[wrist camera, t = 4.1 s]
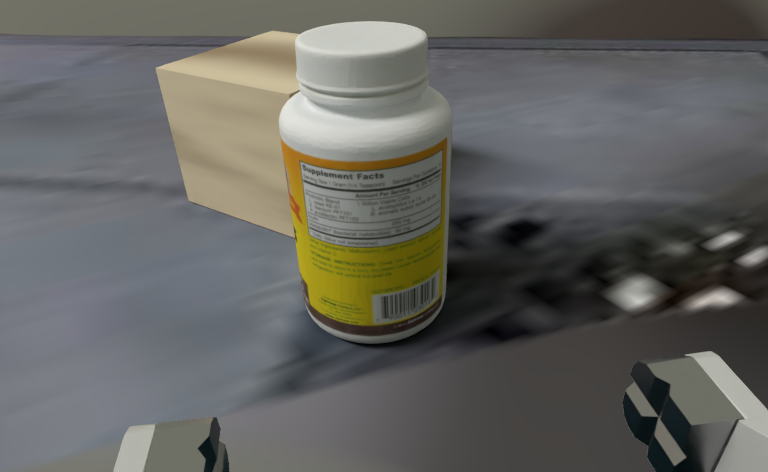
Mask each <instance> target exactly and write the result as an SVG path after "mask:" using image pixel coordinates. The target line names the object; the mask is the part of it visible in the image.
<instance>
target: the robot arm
mask: <svg viewBox="0 0 768 472" xmlns="http://www.w3.org/2000/svg"><path fill="white" fill-rule="evenodd" d="M630 375H631V377H632V378H633V380H634V381H635V382H634V383H633V384H632V385H631V386H630V387H628V389H626V390H625V394H624V398H623V402H622V403H623V410H624V417H625V419H626V422H627V424H628V427H629V428H630V430H631V432H632V434H633V435H634V437H635V438H636V439H638V440H639V441H641V442H643V443H644V444H646V445H647V446H648V452H647V458H648V460H649V461H650V463H651V465H652V466H653V468H654V469H655V471H656V472H768V410H767V409H766V408H765V407H764V406H763V404H762V403H761V402H760V401H759V400H758V399H757V398H756V397H755V395H754V394H752V392H751V391H750V390H749V389H748V388H747V387H746V386H745V384H744V383H742V381H741V380H740V379H739V378H738V377H737V376H736V375H735V373H734V372H733V371H732V370H731V369H730V368H729V367H728V366H727V364H725V362H724V361H723V360H722V359H721V358H720V357H719V356H718V355H717V354H715V353H713V352H711V351H709V352H701V353H694V354H687V355H676V356H669V357H662V358H656V359H649V360H642V361H637V362H636V363H635V364H634V365H633V367H632V370H631V373H630ZM220 430H221V429H220V426H219V423H218V420H217V417H211V418H201V419H192V420H182V421H173V422H163V423H156V424H147V425H139V426H130V428H129V429H128V431H127V432H126V433H125V435H124V438H123V441H122V445H121V448H120V451H119V454H118V458H117V461H116V464H115V468H114V471H113V472H229V460H228V453H227V450H226V446H225V444H223V443H221V442H220V441H219V437H220Z"/></svg>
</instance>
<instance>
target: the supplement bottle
mask: <svg viewBox="0 0 768 472" xmlns="http://www.w3.org/2000/svg"><path fill="white" fill-rule="evenodd" d="M295 51H296V64H297V72H296V78H297V80H298V81H299V90H300V92H298V93H297V94H295V95H294V96H292V97H291V98H290V99H289V100H288V101H287V102H286V104H285V105H284V106H283V108H282V110H281V113H280V116H279V130H280V138H281V146H282V153H283V160H284V166H285V173H286V180H287V186H288V193H289V200H290V206H291V214H292V220H293V227H294V234H295V241H296V247H297V254H298V262H299V268H300V275H301V283H302V289H303V295H304V300H305V304H306V307H307V310H308V312H309V314H310V316H311V317H312V319H313V320H314V321H315V322H316V323H317V324H318V325H319V326H320V327H321V328H322V329H324V330H325V331H327V332H328V333H330V334H332V335H334V336H336V337H338V338H341V339H344V340H348V341H352V342H357V343H367V344H377V343H388V342H392V341H397V340H401V339H404V338H407V337H409V336H411V335H413V334H415V333H417V332H419V331H421V330H422V329H424V328H425V327H426V326H427V325H429V324H430V323H431V322H432V321H433V320H434V319H435V317H436V316H437V315H438V313H439V312H440V310H441V308H442V306H443V303H444V300H445V293H446V277H447V251H448V228H449V196H450V171H451V147H452V111H451V107H450V105H449V103H448V101H447V100H446V99H445V98H444V97H443V96H442V95H441V94H440V93H439V92H438V91H436V90H435V89H433V88H431V87H430V86H428V74H429V67H428V37H427V35H426V33H425V32H424V31H422V30H421V29H419V28H416V27H413V26H410V25H405V24H400V23H391V22H372V21H369V22H349V23H348V22H347V23H339V24H332V25H326V26H321V27H317V28H314V29H311V30H308V31H305V32H303V33H302V34H300V35H299V36H298V37H297V38H296V40H295Z"/></svg>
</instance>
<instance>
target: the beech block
mask: <svg viewBox="0 0 768 472" xmlns="http://www.w3.org/2000/svg"><path fill="white" fill-rule="evenodd" d="M299 35H300V34H293V33H286V32H278V31H270V32H267V33H264V34H261V35H258V36H254V37H251V38H248V39H245V40H242V41H239V42H236V43H232V44H229V45H226V46H223V47H220V48H217V49H213V50H210V51H207V52H204V53H201V54H198V55H195V56H191V57H188V58H185V59H182V60H179V61H176V62H173V63H169V64H166V65H163V66H160V67H157V68H156V72H157V76H158V80H159V84H160V88H161V92H162V96H163V100H164V104H165V108H166V112H167V116H168V120H169V124H170V128H171V132H172V136H173V140H174V144H175V148H176V152H177V156H178V160H179V164H180V168H181V172H182V176H183V180H184V184H185V188H186V192H187V196H188V200H189V201H190V202H193V203H196V204H199V205H202V206H205V207H208V208H210V209H213V210H216V211H219V212H222V213H225V214H228V215H230V216H233V217H236V218H239V219H242V220H245V221H248V222H250V223H253V224H256V225H259V226H262V227H265V228H268V229H270V230H273V231H276V232H279V233H282V234H285V235H288V236H290V237H293V238H295V234H294V227H293V220H292V214H291V206H290V200H289V193H288V186H287V180H286V173H285V166H284V160H283V153H282V146H281V138H280V130H279V116H280V113H281V110H282V108H283V106H284V105H285V104H286V102H287V101H288V100H289V99H290V98H291V97H292V96H294V95H295V94H297V93H298V92H300V90H299V81H298V80H297V78H296V72H297V64H296V51H295V40H296V38H297V37H298V36H299Z"/></svg>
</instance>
